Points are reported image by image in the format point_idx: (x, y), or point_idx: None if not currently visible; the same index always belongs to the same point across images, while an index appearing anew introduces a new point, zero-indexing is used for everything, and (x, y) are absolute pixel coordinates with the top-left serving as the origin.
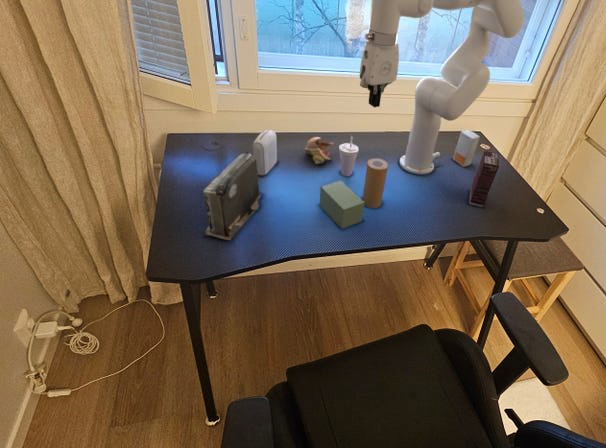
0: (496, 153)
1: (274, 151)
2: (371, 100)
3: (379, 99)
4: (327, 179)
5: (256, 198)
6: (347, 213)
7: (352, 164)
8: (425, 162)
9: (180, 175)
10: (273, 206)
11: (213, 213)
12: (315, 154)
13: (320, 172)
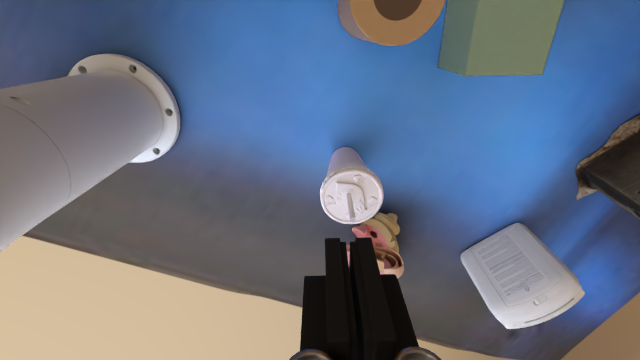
0: None
1: (490, 269)
2: (400, 298)
3: (339, 284)
4: (405, 156)
5: (601, 154)
6: None
7: (345, 157)
8: (98, 74)
9: (636, 276)
10: (589, 115)
11: None
12: (395, 236)
13: (401, 187)
